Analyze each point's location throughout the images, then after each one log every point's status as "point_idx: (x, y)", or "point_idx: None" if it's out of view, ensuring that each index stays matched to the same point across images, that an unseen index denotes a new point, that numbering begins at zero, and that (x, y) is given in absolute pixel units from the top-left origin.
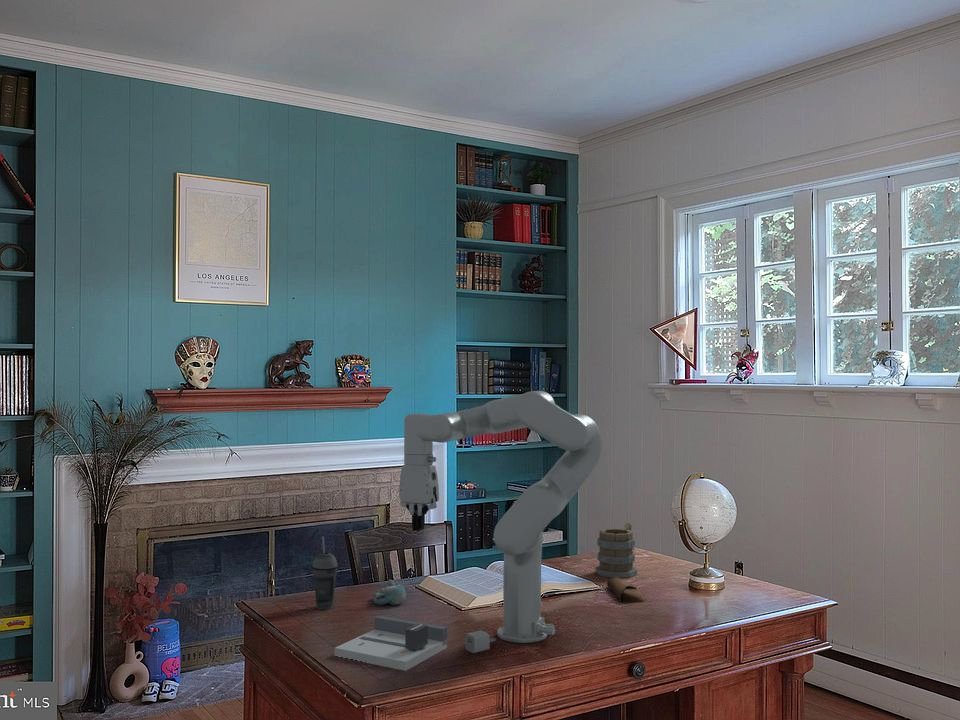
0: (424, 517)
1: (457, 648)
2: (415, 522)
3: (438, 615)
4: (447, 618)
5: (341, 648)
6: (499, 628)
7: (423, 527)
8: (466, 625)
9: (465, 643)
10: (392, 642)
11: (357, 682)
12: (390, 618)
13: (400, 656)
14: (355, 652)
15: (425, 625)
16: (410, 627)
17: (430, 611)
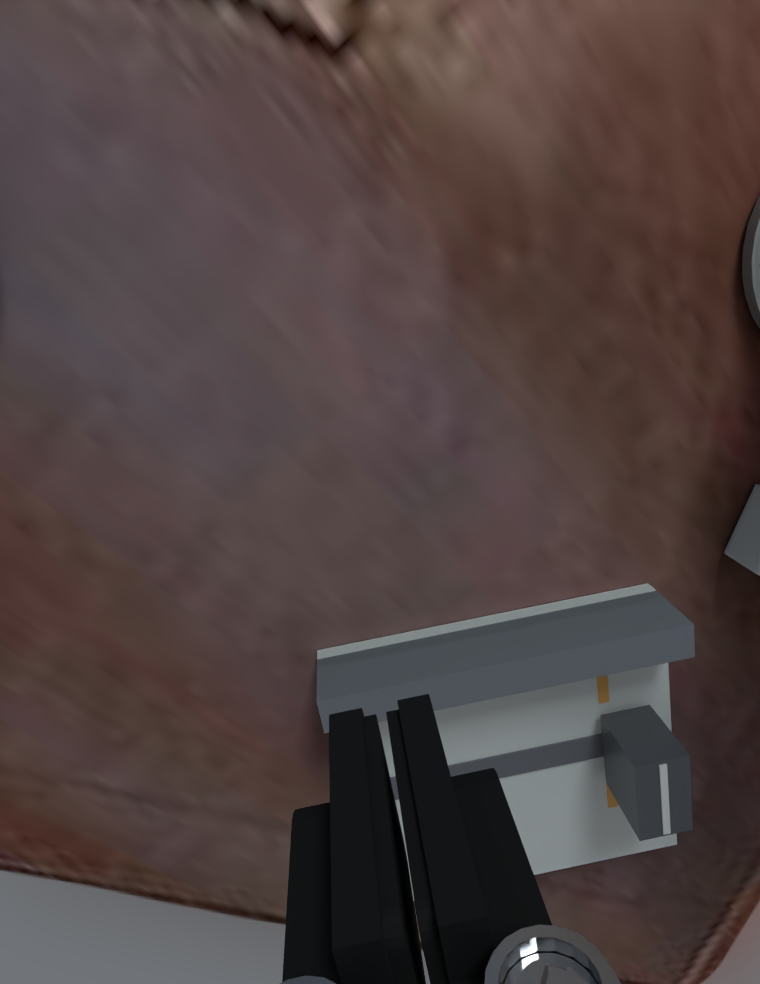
0: (540, 901)
1: (687, 562)
2: (419, 957)
3: (305, 239)
4: (382, 252)
5: None
6: (757, 283)
7: (434, 717)
8: (539, 286)
9: (735, 560)
10: (509, 758)
11: None
12: (394, 698)
13: (629, 825)
14: None
15: (680, 760)
16: (642, 814)
17: (213, 205)
